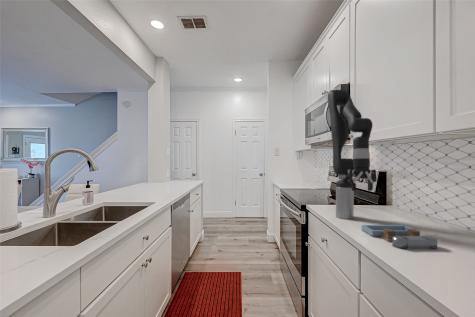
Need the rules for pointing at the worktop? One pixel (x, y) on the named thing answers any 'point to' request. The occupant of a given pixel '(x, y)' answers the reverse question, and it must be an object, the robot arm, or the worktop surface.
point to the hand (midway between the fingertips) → (362, 190)
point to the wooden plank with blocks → (389, 233)
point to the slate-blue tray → (378, 229)
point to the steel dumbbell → (414, 242)
